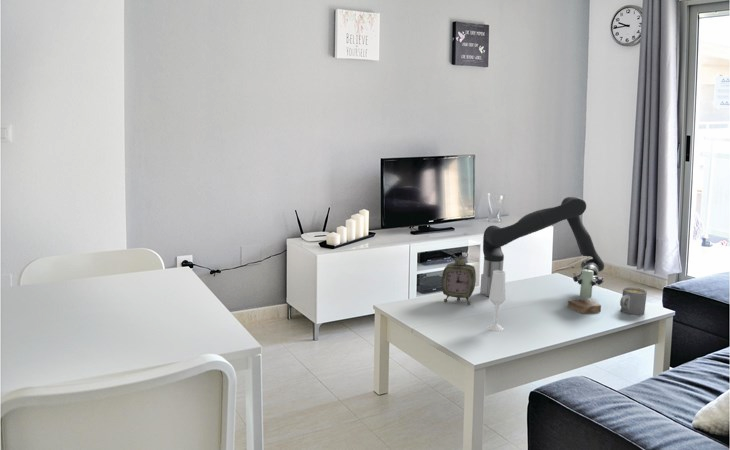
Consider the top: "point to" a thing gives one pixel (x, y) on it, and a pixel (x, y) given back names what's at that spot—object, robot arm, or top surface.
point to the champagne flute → (497, 295)
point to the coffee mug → (633, 300)
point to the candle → (586, 283)
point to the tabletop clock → (458, 279)
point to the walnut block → (584, 306)
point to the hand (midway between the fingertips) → (586, 283)
